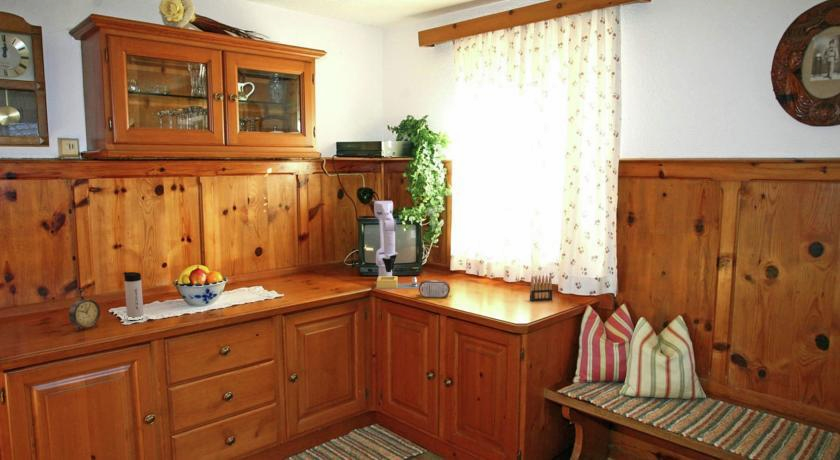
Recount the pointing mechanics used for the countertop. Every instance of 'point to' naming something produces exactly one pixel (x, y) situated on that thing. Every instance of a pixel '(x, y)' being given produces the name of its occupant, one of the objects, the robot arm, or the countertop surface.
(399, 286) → the keeper board
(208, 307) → the countertop surface
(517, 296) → the countertop surface
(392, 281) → the link
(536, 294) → the ammunition clip
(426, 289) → the tin
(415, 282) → the metal drawer knob
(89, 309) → the alarm clock
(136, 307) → the travel mug
